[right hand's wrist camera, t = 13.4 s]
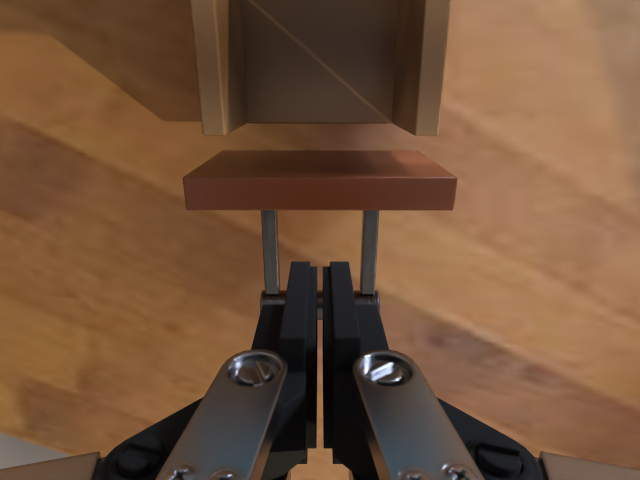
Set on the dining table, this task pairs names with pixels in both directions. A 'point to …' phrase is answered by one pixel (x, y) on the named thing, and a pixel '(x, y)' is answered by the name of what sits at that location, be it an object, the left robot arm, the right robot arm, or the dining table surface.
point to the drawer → (320, 112)
